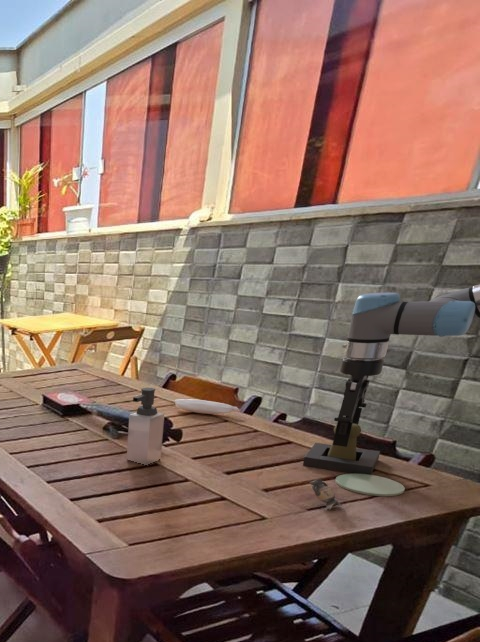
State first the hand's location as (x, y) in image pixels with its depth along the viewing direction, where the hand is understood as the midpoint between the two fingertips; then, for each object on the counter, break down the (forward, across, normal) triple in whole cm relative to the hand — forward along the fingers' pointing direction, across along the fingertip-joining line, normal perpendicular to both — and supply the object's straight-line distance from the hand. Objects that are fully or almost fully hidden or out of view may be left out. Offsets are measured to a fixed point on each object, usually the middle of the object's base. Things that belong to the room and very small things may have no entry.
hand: (344, 438), depth 129 cm
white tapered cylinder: (+5, -75, -61) cm, 96 cm away
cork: (+7, 0, 0) cm, 7 cm away
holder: (+7, 0, 0) cm, 7 cm away
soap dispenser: (+8, +25, -41) cm, 48 cm away
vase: (+7, +30, +1) cm, 31 cm away
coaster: (+7, +13, +7) cm, 16 cm away
